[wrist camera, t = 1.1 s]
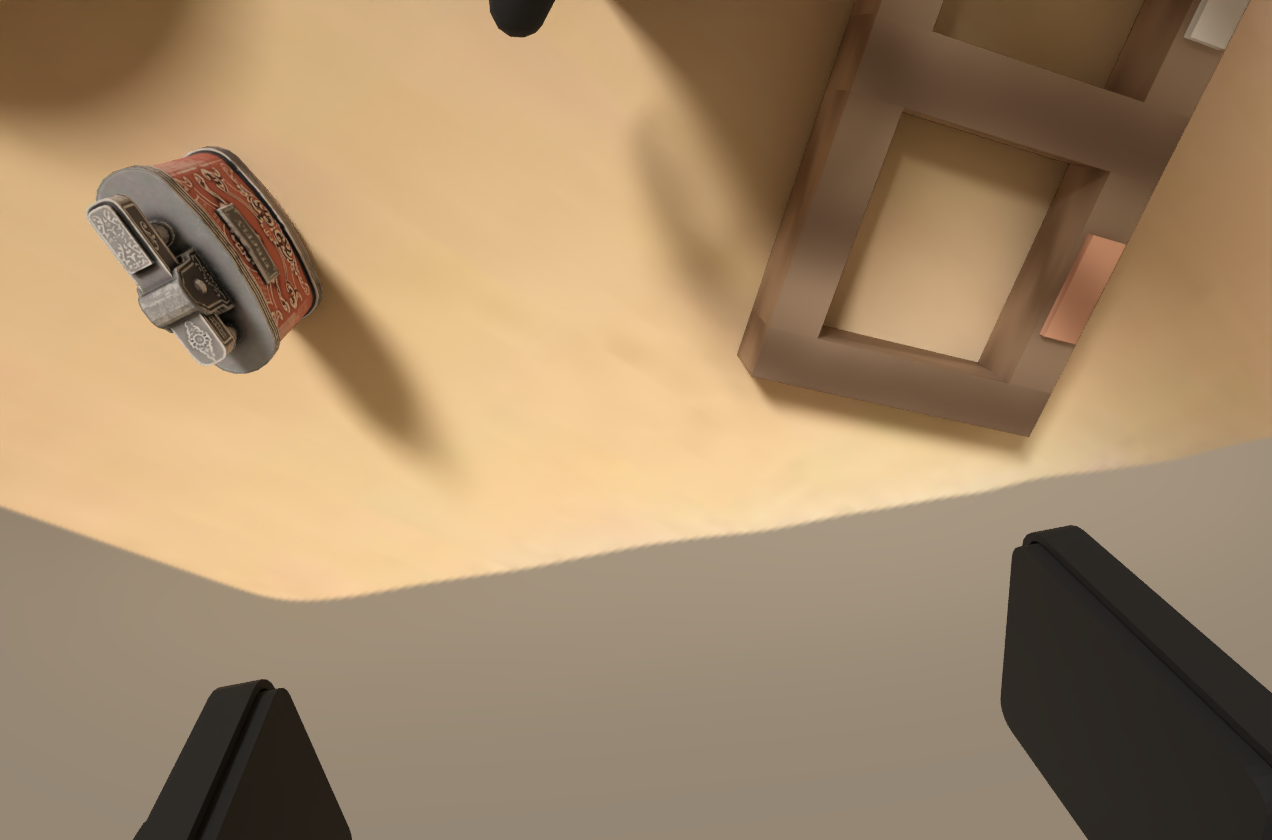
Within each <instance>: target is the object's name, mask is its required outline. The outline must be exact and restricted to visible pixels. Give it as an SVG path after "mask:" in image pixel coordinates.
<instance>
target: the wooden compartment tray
mask: <svg viewBox="0 0 1272 840" xmlns="http://www.w3.org/2000/svg"><path fill="white" fill-rule="evenodd" d="M943 1H944V0H856V1H855V4H854V7H853V10H852V13H851V16H850V19H849V22H848V25H847V28H846V31H845V34H844V37H843V40H842V43H841V46H840V49H839V52H838V55H837V58H836V61H835V64H834V67H833V70H832V73H831V76H830V79H829V82H828V85H827V88H826V91H825V94H824V97H823V100H822V103H821V106H820V109H819V112H818V115H817V118H816V121H815V124H814V127H813V130H812V133H811V136H810V139H809V142H808V145H807V148H806V151H805V154H804V156H803V159H802V162H801V165H800V168H799V171H798V174H797V177H796V180H795V183H794V186H793V189H792V192H791V195H790V198H789V201H788V204H787V207H786V210H785V213H784V216H783V219H782V222H781V225H780V228H779V231H778V234H777V237H776V240H775V243H774V246H773V249H772V252H771V255H770V258H769V261H768V264H767V267H766V270H765V273H764V276H763V279H762V282H761V285H760V288H759V291H758V294H757V297H756V300H755V303H754V306H753V309H752V312H751V315H750V318H749V321H748V324H747V327H746V330H745V333H744V336H743V339H742V342H741V345H740V348H739V351H738V354H737V356H738V357H739V358H740V360H741V361H742V363H743V364H744V366H745V367H746V369H747V370H748V372H749V373H750V374H751V376H753V377H758V378H762V379H767V380H771V381H776V382H780V383H785V384H789V385H794V386H799V387H803V388H808V389H812V390H817V391H821V392H826V393H830V394H835V395H840V396H844V397H849V398H853V399H858V400H862V401H867V402H871V403H876V404H880V405H885V406H890V407H894V408H899V409H903V410H908V411H912V412H917V413H921V414H926V415H931V416H935V417H940V418H944V419H949V420H953V421H958V422H962V423H967V424H972V425H976V426H981V427H985V428H990V429H994V430H999V431H1003V432H1008V433H1012V434H1017V435H1022V436H1026V437H1029V436H1030V434H1031V432H1032V430H1033V428H1034V426H1035V424H1036V422H1037V420H1038V418H1039V416H1040V415H1041V413H1042V411H1043V409H1044V407H1045V405H1046V403H1047V401H1048V399H1049V397H1050V395H1051V393H1052V391H1053V389H1054V387H1055V385H1056V383H1057V381H1058V379H1059V377H1060V375H1061V373H1062V371H1063V369H1064V367H1065V365H1066V363H1067V361H1068V359H1069V357H1070V355H1071V353H1072V351H1073V349H1074V347H1075V345H1076V343H1077V341H1078V339H1079V337H1080V336H1081V334H1082V332H1083V330H1084V328H1085V326H1086V324H1087V322H1088V320H1089V318H1090V316H1091V314H1092V312H1093V310H1094V308H1095V306H1096V304H1097V302H1098V300H1099V298H1100V296H1101V294H1102V292H1103V290H1104V288H1105V286H1106V284H1107V282H1108V280H1109V278H1110V276H1111V274H1112V272H1113V270H1114V268H1115V266H1116V264H1117V262H1118V260H1119V258H1120V256H1121V255H1122V253H1123V251H1124V249H1125V247H1126V245H1127V243H1128V241H1129V239H1130V237H1131V235H1132V233H1133V231H1134V229H1135V227H1136V225H1137V223H1138V221H1139V219H1140V217H1141V215H1142V213H1143V211H1144V209H1145V207H1146V205H1147V203H1148V201H1149V199H1150V197H1151V195H1152V193H1153V191H1154V189H1155V187H1156V185H1157V183H1158V181H1159V179H1160V177H1161V176H1162V174H1163V172H1164V170H1165V168H1166V166H1167V164H1168V162H1169V160H1170V158H1171V156H1172V154H1173V152H1174V150H1175V148H1176V146H1177V144H1178V142H1179V140H1180V138H1181V136H1182V134H1183V132H1184V130H1185V128H1186V126H1187V124H1188V122H1189V120H1190V118H1191V116H1192V114H1193V112H1194V110H1195V108H1196V106H1197V104H1198V102H1199V100H1200V98H1201V96H1202V95H1203V93H1204V91H1205V89H1206V87H1207V85H1208V83H1209V81H1210V79H1211V77H1212V75H1213V73H1214V71H1215V69H1216V67H1217V65H1218V63H1219V61H1220V59H1221V57H1222V55H1223V53H1224V51H1225V49H1226V47H1227V45H1228V43H1229V41H1230V39H1231V37H1232V35H1233V33H1234V31H1235V29H1236V27H1237V25H1238V23H1239V21H1240V19H1241V17H1242V15H1243V14H1244V12H1245V10H1246V8H1247V6H1248V4H1249V2H1250V0H1145V2H1144V4H1143V6H1142V8H1141V10H1140V13H1139V15H1138V17H1137V19H1136V21H1135V23H1134V26H1133V28H1132V30H1131V32H1130V34H1129V36H1128V39H1127V41H1126V43H1125V45H1124V47H1123V49H1122V52H1121V54H1120V56H1119V58H1118V60H1117V62H1116V65H1115V67H1114V69H1113V71H1112V73H1111V76H1110V78H1109V80H1108V82H1107V84H1106V86H1105V89H1103V88H1100V87H1097V86H1094V85H1091V84H1088V83H1085V82H1082V81H1079V80H1076V79H1073V78H1070V77H1067V76H1064V75H1061V74H1058V73H1055V72H1052V71H1049V70H1046V69H1043V68H1040V67H1037V66H1034V65H1031V64H1028V63H1025V62H1022V61H1020V60H1017V59H1014V58H1011V57H1008V56H1005V55H1002V54H999V53H996V52H993V51H990V50H987V49H984V48H981V47H978V46H975V45H972V44H969V43H966V42H963V41H960V40H957V39H954V38H951V37H948V36H945V35H942V34H939V33H936V32H933V28H934V25H935V23H936V20H937V17H938V14H939V12H940V9H941V6H942V4H943ZM902 112H904V113H907V114H910V115H913V116H917V117H920V118H923V119H926V120H929V121H933V122H936V123H939V124H942V125H946V126H949V127H952V128H955V129H959V130H962V131H965V132H968V133H972V134H975V135H978V136H981V137H984V138H988V139H991V140H994V141H997V142H1001V143H1004V144H1007V145H1010V146H1014V147H1017V148H1020V149H1023V150H1026V151H1030V152H1033V153H1036V154H1039V155H1043V156H1046V157H1049V158H1052V159H1056V160H1059V161H1062V162H1065V163H1068V164H1070V165H1069V167H1068V169H1067V171H1066V173H1065V175H1064V178H1063V180H1062V182H1061V184H1060V186H1059V188H1058V191H1057V193H1056V195H1055V197H1054V199H1053V201H1052V204H1051V206H1050V208H1049V210H1048V212H1047V214H1046V217H1045V219H1044V221H1043V223H1042V225H1041V227H1040V230H1039V232H1038V234H1037V236H1036V238H1035V241H1034V243H1033V245H1032V247H1031V249H1030V251H1029V254H1028V256H1027V258H1026V260H1025V262H1024V264H1023V267H1022V269H1021V271H1020V273H1019V275H1018V277H1017V280H1016V282H1015V284H1014V286H1013V288H1012V290H1011V293H1010V295H1009V297H1008V299H1007V301H1006V303H1005V306H1004V308H1003V310H1002V312H1001V314H1000V317H999V319H998V321H997V323H996V325H995V327H994V330H993V332H992V334H991V336H990V338H989V340H988V343H987V345H986V347H985V349H984V351H983V353H982V356H981V358H980V360H979V362H978V363H977V362H973V361H969V360H964V359H960V358H956V357H952V356H948V355H944V354H939V353H935V352H931V351H927V350H923V349H918V348H914V347H910V346H906V345H902V344H898V343H893V342H889V341H885V340H881V339H877V338H872V337H868V336H864V335H860V334H856V333H852V332H847V331H843V330H839V329H835V328H831V327H826V326H822V325H823V323H824V320H825V317H826V315H827V312H828V309H829V307H830V304H831V301H832V299H833V296H834V293H835V291H836V288H837V285H838V283H839V280H840V277H841V275H842V272H843V269H844V266H845V264H846V261H847V258H848V256H849V253H850V250H851V248H852V245H853V242H854V240H855V237H856V234H857V232H858V229H859V226H860V224H861V221H862V218H863V216H864V213H865V210H866V207H867V205H868V202H869V199H870V197H871V194H872V191H873V189H874V186H875V183H876V181H877V178H878V175H879V173H880V170H881V167H882V165H883V162H884V159H885V157H886V154H887V151H888V149H889V146H890V143H891V140H892V138H893V135H894V132H895V130H896V127H897V124H898V122H899V119H900V116H901V114H902Z"/></svg>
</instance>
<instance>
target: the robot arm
mask: <svg viewBox="0 0 1272 840" xmlns="http://www.w3.org/2000/svg"><path fill="white" fill-rule="evenodd" d="M1001 707H1002V712H1003V715H1004V718H1005V720H1006V722H1007V725H1008V726H1009V728H1010V729H1011V731H1012V733H1013V734H1014V735H1015V737H1016V738H1017V740H1018V741H1019V742H1020V744H1021V745H1022V747H1023V748H1024V750H1026V752H1027V754H1028V755H1029V757H1030V758H1031V759H1032V761H1033V762H1034V764H1035V765H1036V767H1037V768H1038V769H1039V771H1040V772H1041V774H1042V775H1043V776H1044V778H1045V779H1046V781H1047V782H1048V784H1049V785H1050V786H1051V788H1052V789H1053V791H1054V792H1055V793H1056V795H1057V796H1058V798H1059V799H1060V800H1061V802H1062V803H1063V805H1064V806H1065V808H1066V809H1067V810H1068V812H1069V813H1070V815H1071V816H1072V817H1073V819H1074V820H1075V822H1076V823H1077V825H1078V826H1079V827H1080V829H1081V830H1082V832H1083V833H1084V835H1085V836H1086V837H1087V839H1088V840H1272V693H1271V692H1270V691H1269V690H1267V689H1266V688H1265V687H1264V686H1263V685H1261V683H1259V682H1258V681H1257V680H1256V679H1255V678H1253V676H1251V675H1250V674H1249V673H1248V672H1247V671H1245V670H1244V669H1243V668H1242V667H1241V666H1240V665H1239V664H1237V663H1236V662H1235V661H1234V660H1233V659H1232V658H1231V657H1229V656H1228V655H1227V654H1226V653H1225V652H1223V651H1222V650H1221V649H1220V648H1219V647H1218V646H1217V645H1216V644H1214V643H1213V642H1212V641H1211V640H1210V639H1209V638H1207V637H1206V636H1205V635H1204V634H1203V633H1202V632H1200V631H1199V630H1198V629H1197V628H1196V627H1194V626H1193V625H1192V624H1191V623H1190V622H1189V621H1188V620H1186V619H1185V618H1184V617H1183V616H1182V615H1181V614H1180V613H1178V612H1177V611H1176V610H1175V609H1174V608H1173V607H1171V606H1170V605H1169V604H1168V603H1167V602H1166V601H1165V600H1163V599H1162V598H1161V597H1160V596H1159V595H1158V594H1157V593H1155V592H1154V591H1153V590H1152V589H1151V588H1150V587H1148V586H1147V585H1146V584H1145V583H1144V582H1143V581H1142V580H1140V579H1139V578H1138V577H1137V576H1136V575H1135V574H1133V573H1132V572H1131V571H1130V570H1129V569H1128V568H1126V567H1125V566H1124V565H1123V564H1122V563H1121V562H1120V561H1118V560H1117V559H1116V558H1115V557H1114V556H1113V555H1111V554H1110V553H1109V552H1108V551H1107V550H1106V549H1104V548H1103V547H1102V546H1101V545H1100V544H1099V543H1098V542H1096V541H1095V540H1094V539H1093V538H1092V537H1091V536H1089V535H1088V534H1087V533H1086V532H1085V531H1084V530H1082V529H1081V528H1079V527H1077V526H1072V525H1070V526H1065V527H1059V528H1054V529H1049V530H1043V531H1039V532H1033V533H1030V534H1028V535H1026V537H1025V538H1024V540H1023V545H1022V546H1021V547H1018V548H1015V550H1014V551H1013V555H1012V564H1011V576H1010V588H1009V600H1008V614H1007V625H1006V638H1005V650H1004V663H1003V675H1002V688H1001ZM133 840H352V837H351V833H350V830H349V827H348V825H347V822H346V820H345V818H344V816H343V813H342V811H341V809H340V807H339V804H338V802H337V800H336V798H335V795H334V793H333V791H332V789H331V787H330V784H329V782H328V780H327V778H326V775H325V773H324V771H323V769H322V766H321V764H320V762H319V759H318V757H317V755H316V753H315V750H314V748H313V746H312V743H311V741H310V739H309V737H308V734H307V732H306V730H305V728H304V725H303V723H302V721H301V719H300V716H299V714H298V712H297V710H296V707H295V706H294V703H293V701H292V699H291V696H290V695H289V693H288V691H287V690H286V689H284V688H278V689H275V688H274V686H273V685H272V683H271V682H269V681H268V680H264V679H261V680H256V681H251V682H246V683H240V684H235V685H230V686H225V687H220V688H217V689H216V690H214V691H213V692H212V694H211V695H210V697H209V698H208V700H207V702H206V704H205V706H204V708H203V710H202V712H201V714H200V716H199V718H198V720H197V722H196V724H195V726H194V728H193V730H192V732H191V734H190V736H189V738H188V740H187V742H186V744H185V746H184V748H183V750H182V751H181V753H180V755H179V757H178V760H177V761H176V763H175V766H174V767H173V769H172V771H171V773H170V775H169V777H168V779H167V781H166V783H165V785H164V787H163V789H162V791H161V793H160V795H159V797H158V799H157V801H156V803H155V805H154V807H153V809H152V811H151V813H150V815H149V817H148V819H147V821H146V822H145V823H143V825H142V826H141V828H140V829H139V831H138V832H137V834H136V835H135V837H134V839H133Z"/></svg>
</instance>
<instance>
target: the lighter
mask: <svg viewBox="0 0 1272 840" xmlns="http://www.w3.org/2000/svg"><path fill="white" fill-rule="evenodd" d="M85 213H86V218H87V220H88V221H89V223H90V225H91V226H92V227H93V229H94V230H95V231H96V232H97V234H98V235H99V236H100V238H101V239H102V240H103V242H104V243H105V244H106V245H107V247H108V248H109V249H110V251H111V252H112V253H113V255H114V256H115V257H116V259H117V260H118V261H119V262H120V264H121V265H122V266H123V268H124V269H125V270H126V272H127V273H128V274H129V275H130V277H131V278H132V279H133V281H134V282H135V283H136V285H137V286H138V287H137V292H138V295H139V299H138V301H139V305H140V307H141V309H142V311H143V312H144V314H145V315H146V316H147V318H148V319H149V320H150V321H151V322H152V323H153V324H154V325H155V326H157V327H159V328H161V329H165V330H166V331H168V332H170V333H174V334H175V335H176V337H177V338H178V339H179V341H180V342H181V343H182V344H183V346H184V347H185V348H186V350H187V351H188V352H189V354H190V355H191V356H192V357H193V359H194V360H195V361H196V362H197V363H199V364H201V365H203V366H211V365H216V366H217V367H219V368H220V369H222V370H224V371H227V372H231V373H234V374H247V373H250V372H253V371H256V370H259V369H260V368H262V367H263V366H264V365H266V364H267V363H268V362H269V361H270V360H271V359H272V357H273V356H274V355H275V353H276V352H277V350H278V349H279V344H280V341H281V340H282V339H283V338H284V337H285V336H286V335H287V334H288V332H289V331H290V330H291V329H292V328H293V327H294V326H295V325H296V324H297V323H298V321H299V320H302V319H304V318H306V317H307V316H308V315H310V314H311V313H312V312H313V311H314V310H315V309H316V307H317V306H318V305H319V303H320V302H321V299H322V294H323V291H322V285H321V282H320V280H319V278H318V275H317V273H316V271H315V268H314V266H313V264H312V261H311V259H310V257H309V254H308V252H307V250H306V248H305V247H304V245H303V243H302V241H301V240H300V238H299V236H298V234H297V232H296V231H295V229H294V227H293V225H292V224H291V222H290V220H289V218H288V217H287V216H286V214H285V213H284V212H283V210H282V209H281V208H280V206H279V205H278V204H277V202H276V201H275V199H274V198H273V197H272V195H271V194H270V193H269V191H268V190H267V189H266V187H265V186H264V185H263V184H262V183H261V182H260V181H259V180H258V178H257V177H256V176H255V175H254V174H253V173H252V172H251V171H250V170H249V169H248V167H247V166H246V165H245V164H244V163H243V162H242V161H241V160H240V159H239V158H238V157H237V156H236V155H235V154H234V153H232V152H231V151H230V150H227V149H224V148H222V147H218V146H207V147H203V148H199V149H196V150H193V151H190V152H188V153H187V154H186V155H185V156H183V157H182V158H181V159H177V160H173V161H170V162H166V163H163V164H159V165H155V166H145V165H135V166H131V167H127V168H124V169H120V170H117V171H114V172H112V173H111V174H109V175H108V176H107V177H106V178H104V179H103V180H102V182H101V184H100V186H99V188H98V189H97V196H96V202H94V203H92V204H91V205H90V206H88V207H87V209H86V212H85Z"/></svg>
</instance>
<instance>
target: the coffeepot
mask: <svg viewBox="0 0 1272 840" xmlns="http://www.w3.org/2000/svg"><path fill="white" fill-rule="evenodd" d="M554 1H555V0H489V5H490V13H491V15H492V17H493V19H494V21H495V23H496V24H497V26H498V28H499V29H500V30H502V31H503V32H504V33H506V34H507V35H509V36H510V37H526V36H529V35H531V34H534V33H536V32H537V31H538V30H539V28H540V27H541V26H542V24H543V22H544V21H545V19H546V17H547V15H548V13H549V11H550V9H551V7H552V5H553V3H554Z"/></svg>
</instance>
